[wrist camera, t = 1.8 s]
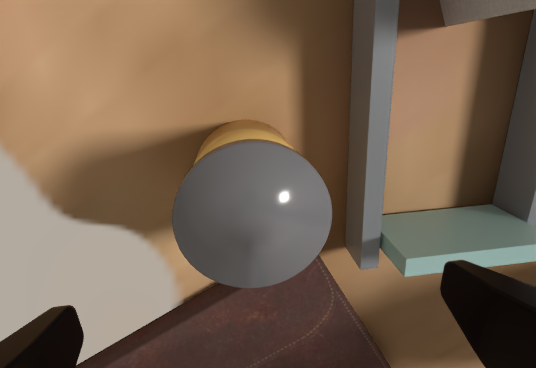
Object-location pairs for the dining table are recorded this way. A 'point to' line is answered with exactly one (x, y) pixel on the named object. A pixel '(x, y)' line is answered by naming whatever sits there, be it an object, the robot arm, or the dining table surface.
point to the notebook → (253, 330)
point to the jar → (251, 208)
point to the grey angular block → (481, 9)
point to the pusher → (456, 238)
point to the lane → (377, 131)
